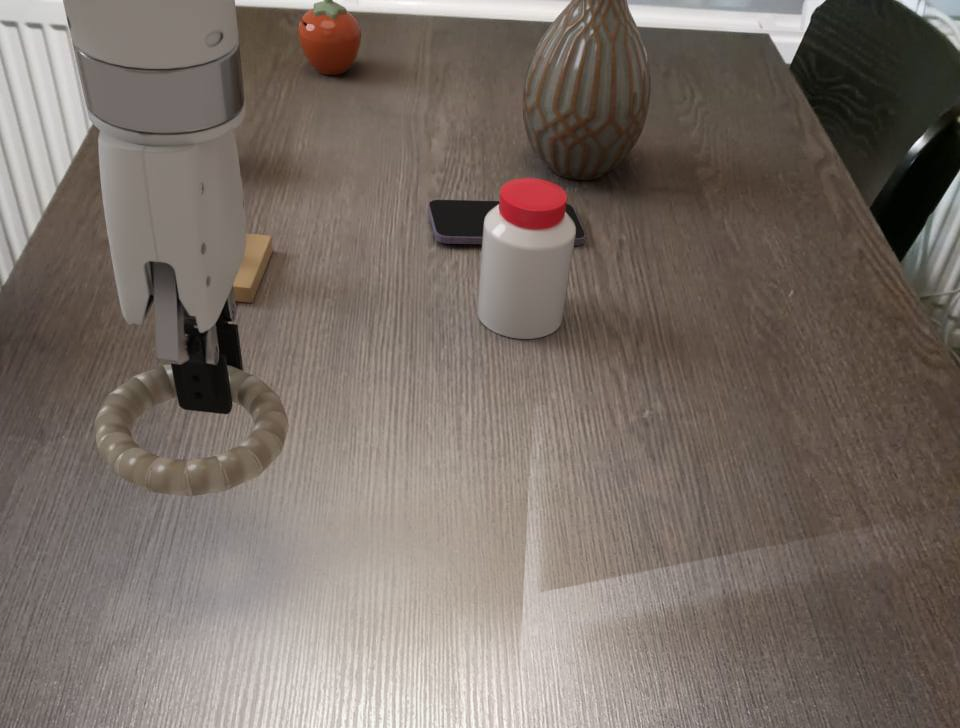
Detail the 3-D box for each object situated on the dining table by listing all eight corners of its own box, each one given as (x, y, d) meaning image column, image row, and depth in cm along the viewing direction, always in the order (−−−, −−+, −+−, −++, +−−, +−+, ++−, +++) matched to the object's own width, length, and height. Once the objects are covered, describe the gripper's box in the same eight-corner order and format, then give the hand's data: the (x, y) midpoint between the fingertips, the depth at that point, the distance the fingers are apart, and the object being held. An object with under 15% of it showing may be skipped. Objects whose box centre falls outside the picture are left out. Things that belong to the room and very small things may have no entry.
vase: (607, 135, 111) (637, -44, 98) (655, 190, 104) (694, 4, 90) (500, 143, 108) (516, -41, 94) (541, 200, 100) (564, 9, 87)
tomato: (300, 55, 119) (295, -20, 113) (361, 57, 120) (359, -17, 114) (299, 80, 115) (294, 4, 108) (362, 82, 116) (361, 6, 109)
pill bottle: (498, 346, 83) (510, 223, 75) (463, 298, 88) (471, 177, 79) (577, 330, 86) (597, 210, 77) (539, 285, 90) (555, 166, 82)
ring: (73, 491, 55) (64, 464, 53) (130, 373, 61) (124, 346, 60) (268, 512, 55) (265, 486, 53) (303, 393, 62) (301, 366, 60)
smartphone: (588, 239, 95) (436, 236, 92) (586, 250, 95) (436, 247, 93) (571, 202, 99) (426, 198, 96) (569, 212, 100) (426, 209, 97)
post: (150, 293, 85) (121, 160, 76) (177, 240, 90) (153, 111, 82) (252, 303, 85) (236, 172, 76) (273, 250, 91) (260, 122, 82)
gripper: (133, 9, 51) (185, 315, 66) (24, 146, 41) (114, 472, 56) (274, 26, 52) (295, 327, 66) (199, 167, 42) (244, 486, 56)
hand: (212, 391), depth 61 cm, fingers closed on ring, 2 cm apart
